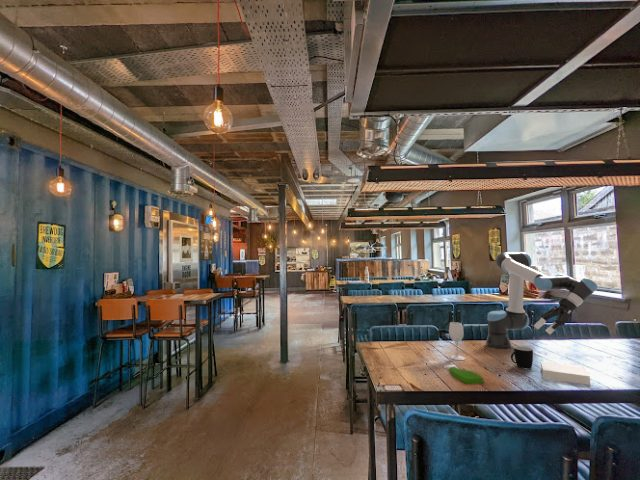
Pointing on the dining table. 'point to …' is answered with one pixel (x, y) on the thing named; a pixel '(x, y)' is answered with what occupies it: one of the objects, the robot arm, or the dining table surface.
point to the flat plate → (565, 372)
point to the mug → (523, 356)
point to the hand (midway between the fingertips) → (541, 330)
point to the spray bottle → (464, 375)
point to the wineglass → (456, 337)
